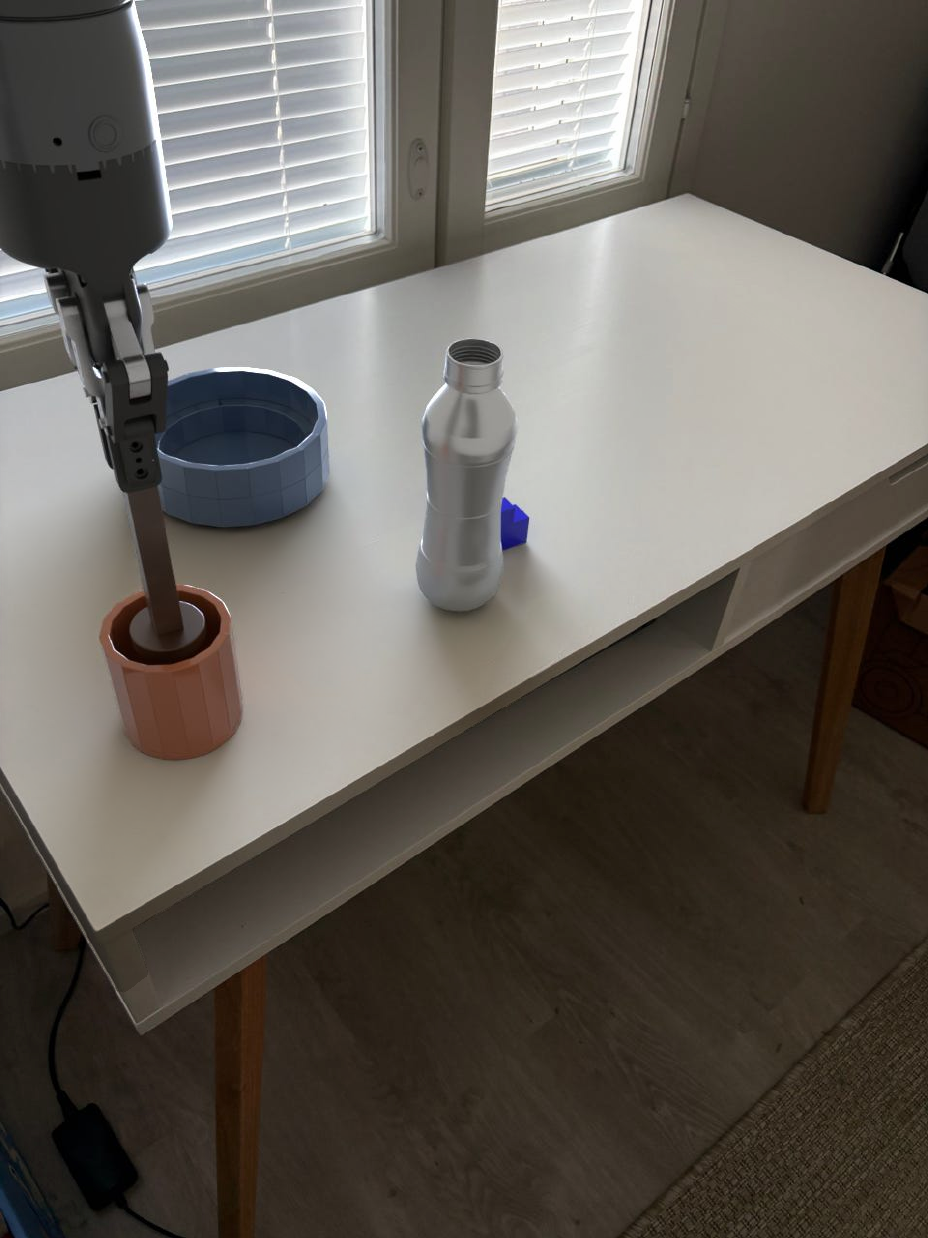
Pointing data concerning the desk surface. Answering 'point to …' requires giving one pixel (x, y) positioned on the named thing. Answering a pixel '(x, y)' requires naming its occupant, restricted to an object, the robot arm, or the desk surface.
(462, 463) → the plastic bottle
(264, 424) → the bowl
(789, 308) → the desk surface
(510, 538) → the cable holder
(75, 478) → the desk surface
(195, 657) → the crock
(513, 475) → the desk surface
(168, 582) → the disc-ended square rod
